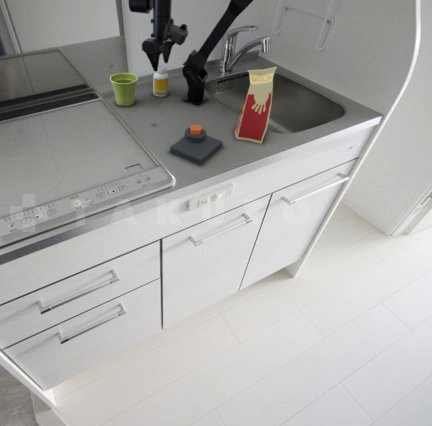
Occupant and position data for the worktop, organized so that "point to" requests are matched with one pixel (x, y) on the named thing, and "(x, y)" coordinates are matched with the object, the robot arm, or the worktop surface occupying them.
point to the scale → (196, 147)
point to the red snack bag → (256, 106)
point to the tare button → (195, 130)
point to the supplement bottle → (160, 82)
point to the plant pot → (124, 88)
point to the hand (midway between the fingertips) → (161, 67)
